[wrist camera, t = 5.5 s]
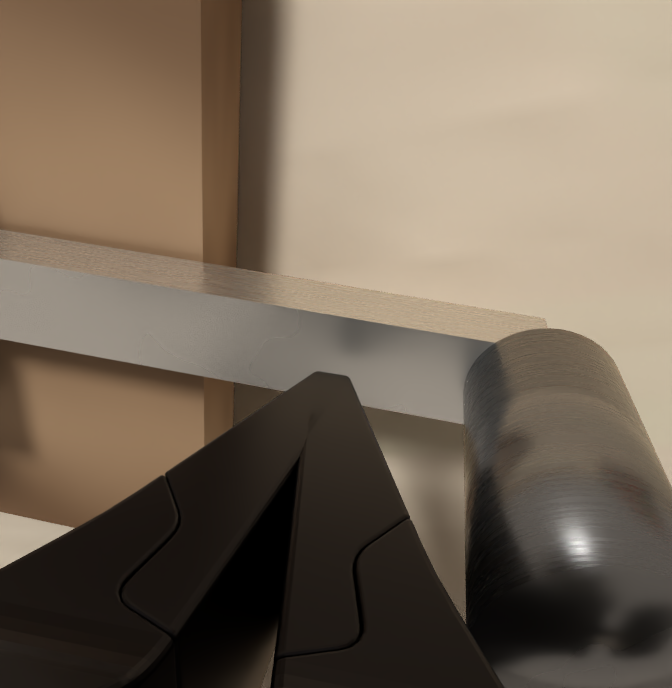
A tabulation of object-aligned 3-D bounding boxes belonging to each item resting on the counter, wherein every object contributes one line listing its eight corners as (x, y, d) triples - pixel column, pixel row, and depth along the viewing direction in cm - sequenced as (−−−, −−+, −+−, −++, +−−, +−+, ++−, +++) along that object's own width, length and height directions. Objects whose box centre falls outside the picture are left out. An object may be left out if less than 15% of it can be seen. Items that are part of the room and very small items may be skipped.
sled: (553, 503, 12) (621, 851, 7) (-258, 345, 14) (-661, 530, 9) (668, 194, 9) (933, 420, 4) (-388, 46, 11) (-1108, 72, 6)
